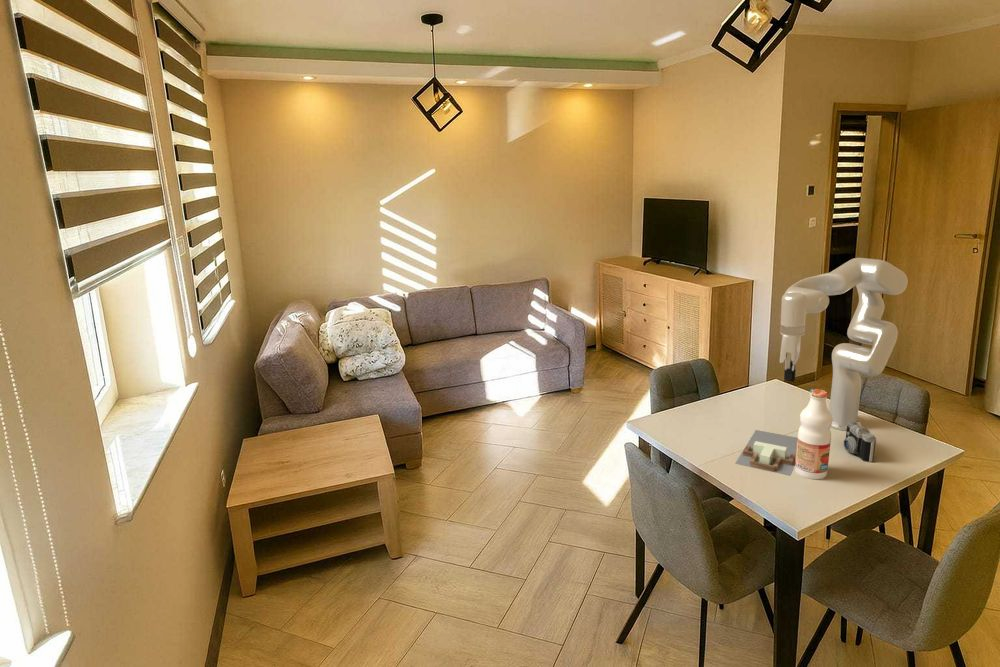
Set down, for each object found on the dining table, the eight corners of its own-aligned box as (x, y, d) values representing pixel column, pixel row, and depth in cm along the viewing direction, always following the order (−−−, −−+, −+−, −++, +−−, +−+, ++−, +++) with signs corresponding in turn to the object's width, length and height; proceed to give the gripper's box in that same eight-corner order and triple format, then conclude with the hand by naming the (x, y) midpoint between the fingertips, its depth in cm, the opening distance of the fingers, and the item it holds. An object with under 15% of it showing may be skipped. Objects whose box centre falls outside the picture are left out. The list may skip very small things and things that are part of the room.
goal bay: (747, 448, 214) (747, 444, 213) (794, 458, 205) (795, 454, 205) (737, 463, 203) (738, 459, 203) (787, 474, 195) (788, 470, 194)
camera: (834, 443, 215) (837, 417, 213) (854, 443, 215) (857, 416, 212) (854, 462, 201) (858, 434, 199) (876, 462, 201) (879, 434, 198)
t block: (754, 451, 211) (755, 441, 210) (786, 458, 206) (786, 447, 205) (747, 463, 203) (748, 452, 202) (780, 470, 198) (781, 459, 197)
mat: (755, 430, 228) (755, 429, 228) (805, 439, 219) (805, 439, 219) (735, 464, 204) (735, 463, 203) (790, 476, 194) (790, 475, 194)
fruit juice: (793, 464, 202) (800, 385, 194) (825, 468, 198) (833, 387, 191) (795, 477, 193) (803, 395, 186) (828, 482, 190) (837, 398, 182)
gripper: (784, 322, 212) (782, 372, 217) (775, 334, 201) (773, 386, 206) (808, 324, 208) (805, 374, 213) (800, 336, 196) (797, 389, 201)
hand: (789, 380), depth 209 cm, fingers closed
